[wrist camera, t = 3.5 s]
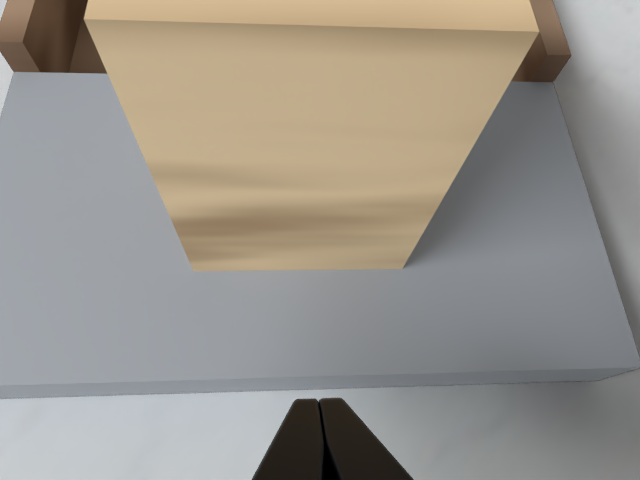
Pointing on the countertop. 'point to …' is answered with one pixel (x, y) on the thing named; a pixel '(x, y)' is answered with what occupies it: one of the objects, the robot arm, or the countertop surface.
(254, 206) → the block
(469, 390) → the countertop surface
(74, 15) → the bin
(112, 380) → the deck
